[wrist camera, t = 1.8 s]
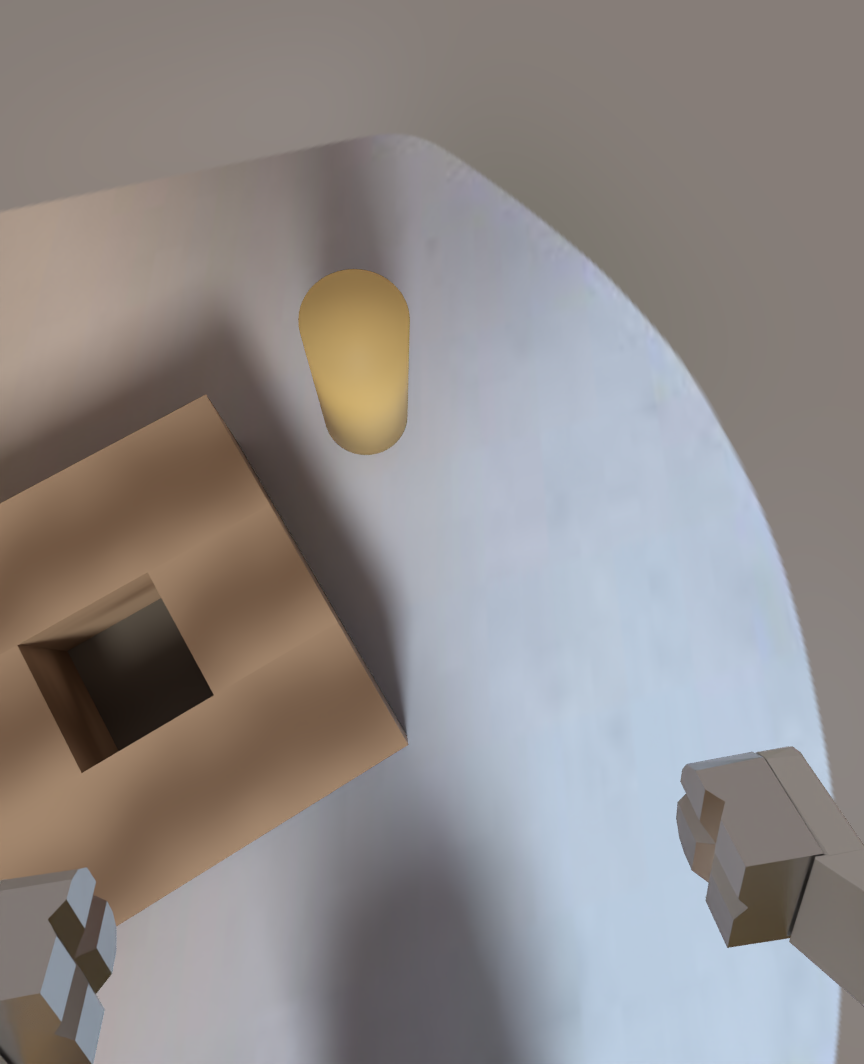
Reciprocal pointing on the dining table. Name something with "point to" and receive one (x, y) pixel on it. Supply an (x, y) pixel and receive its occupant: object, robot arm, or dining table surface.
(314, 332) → the pin
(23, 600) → the bore block
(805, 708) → the dining table surface
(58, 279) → the dining table surface
